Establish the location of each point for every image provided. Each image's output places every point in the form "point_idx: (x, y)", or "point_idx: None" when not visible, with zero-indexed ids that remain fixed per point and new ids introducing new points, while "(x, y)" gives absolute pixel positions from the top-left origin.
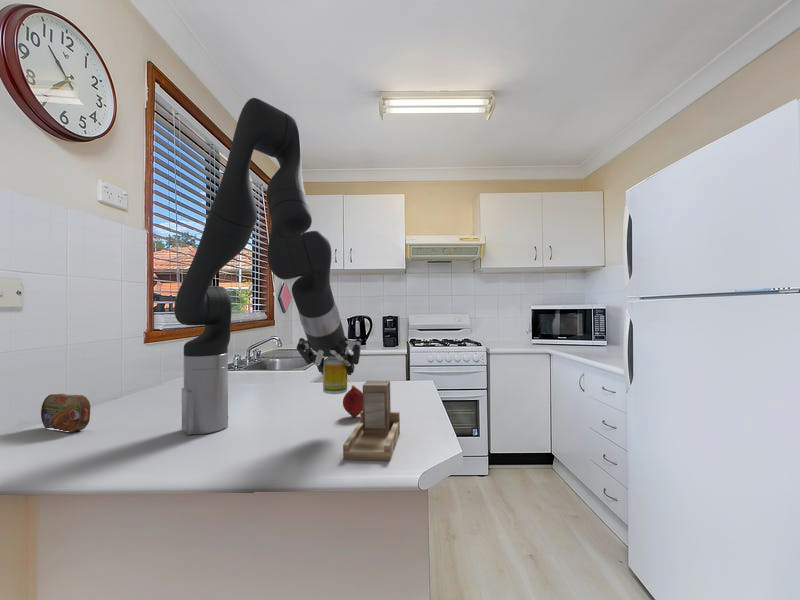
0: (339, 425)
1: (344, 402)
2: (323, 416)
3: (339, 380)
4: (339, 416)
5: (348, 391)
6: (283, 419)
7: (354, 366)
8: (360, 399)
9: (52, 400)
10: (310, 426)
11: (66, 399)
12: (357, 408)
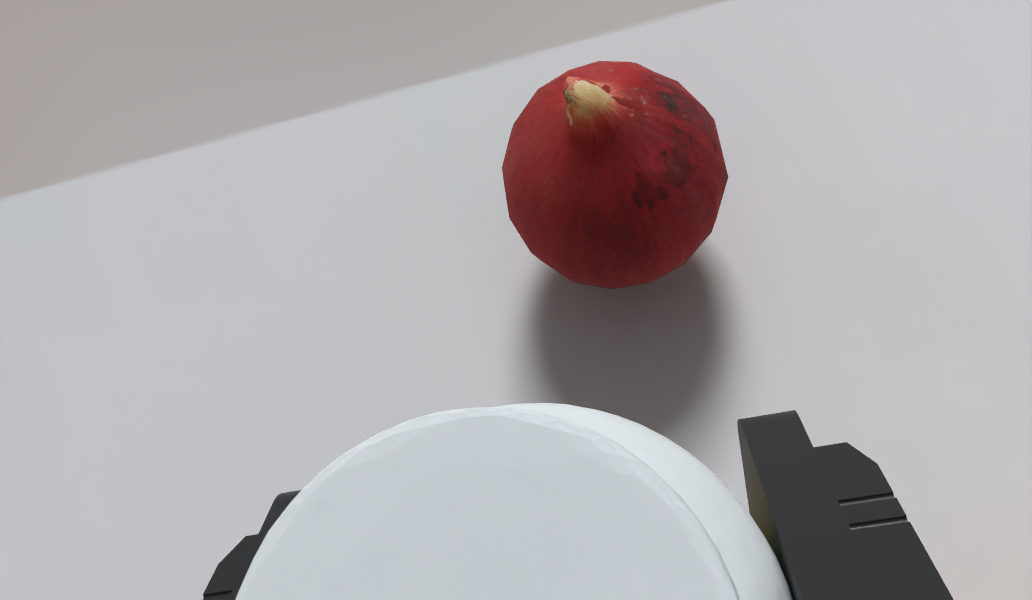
0: None
1: (544, 253)
2: (369, 278)
3: None
4: (494, 246)
5: (543, 147)
6: (100, 425)
7: (882, 475)
8: (699, 203)
9: None
10: None
11: None
12: (680, 264)
